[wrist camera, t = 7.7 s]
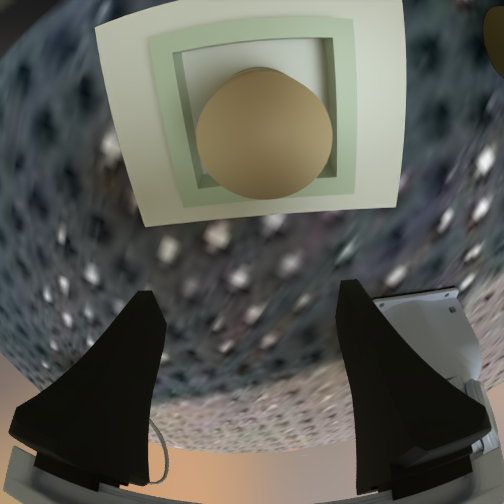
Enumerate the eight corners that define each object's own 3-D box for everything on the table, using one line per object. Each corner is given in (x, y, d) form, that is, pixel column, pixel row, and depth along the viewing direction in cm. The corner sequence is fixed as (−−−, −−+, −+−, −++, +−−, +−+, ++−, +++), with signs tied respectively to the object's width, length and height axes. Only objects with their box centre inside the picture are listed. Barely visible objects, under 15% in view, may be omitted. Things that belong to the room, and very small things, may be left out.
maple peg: (302, 65, 12) (333, 73, 8) (304, 145, 15) (329, 197, 10) (212, 70, 12) (188, 80, 8) (221, 150, 15) (206, 203, 10)
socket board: (392, 0, 10) (417, -7, 8) (389, 198, 18) (406, 222, 16) (104, 27, 11) (77, 27, 9) (150, 217, 19) (136, 243, 17)
